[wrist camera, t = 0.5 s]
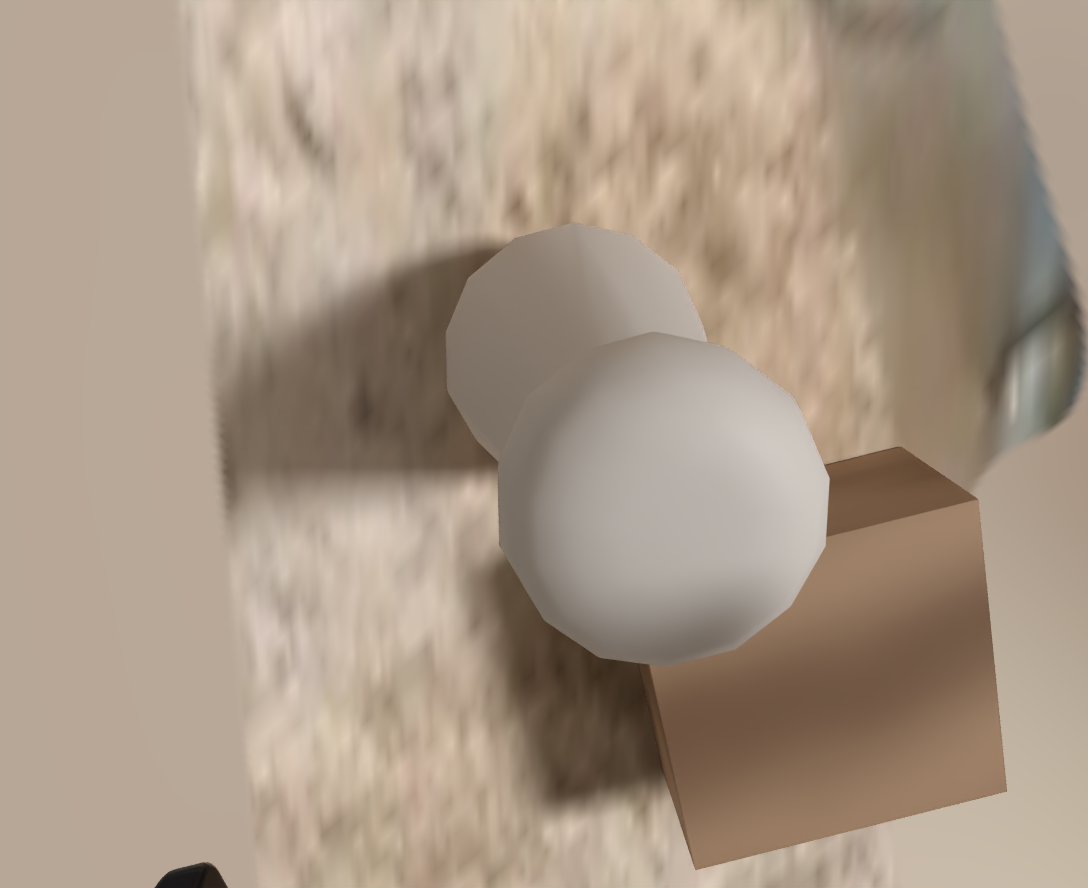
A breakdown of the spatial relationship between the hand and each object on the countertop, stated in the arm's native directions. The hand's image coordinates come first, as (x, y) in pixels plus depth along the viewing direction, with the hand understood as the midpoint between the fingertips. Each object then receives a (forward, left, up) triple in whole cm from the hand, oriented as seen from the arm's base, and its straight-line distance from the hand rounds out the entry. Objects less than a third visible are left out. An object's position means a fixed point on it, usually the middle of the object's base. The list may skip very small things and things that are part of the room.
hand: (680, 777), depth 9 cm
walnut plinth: (-8, -5, -16) cm, 18 cm away
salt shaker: (+1, -1, -16) cm, 16 cm away
